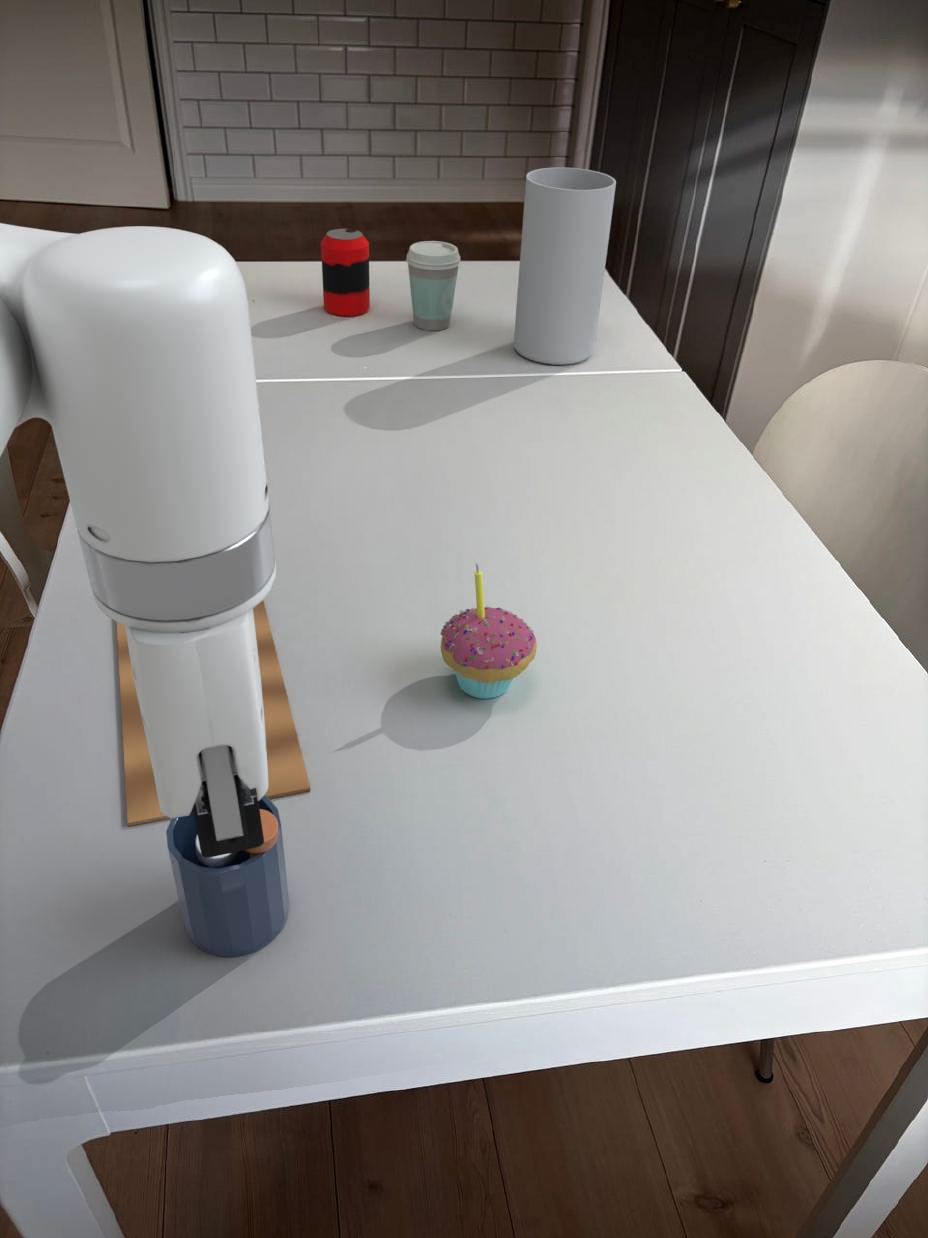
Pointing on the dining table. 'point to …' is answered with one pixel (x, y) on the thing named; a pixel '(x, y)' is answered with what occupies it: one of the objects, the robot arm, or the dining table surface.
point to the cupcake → (486, 647)
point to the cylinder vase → (562, 263)
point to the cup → (229, 892)
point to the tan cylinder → (266, 833)
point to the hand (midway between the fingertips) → (232, 840)
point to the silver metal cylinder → (214, 861)
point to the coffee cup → (432, 283)
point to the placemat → (279, 731)
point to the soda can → (345, 272)
